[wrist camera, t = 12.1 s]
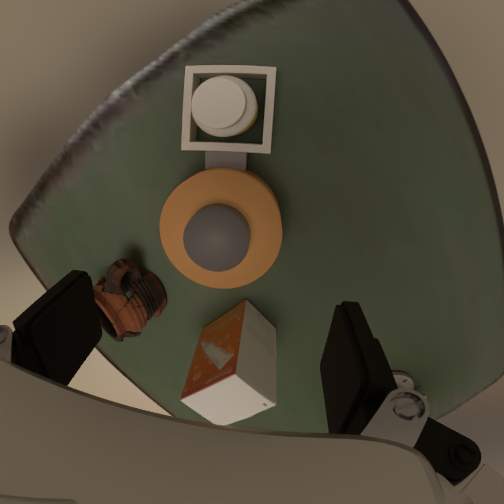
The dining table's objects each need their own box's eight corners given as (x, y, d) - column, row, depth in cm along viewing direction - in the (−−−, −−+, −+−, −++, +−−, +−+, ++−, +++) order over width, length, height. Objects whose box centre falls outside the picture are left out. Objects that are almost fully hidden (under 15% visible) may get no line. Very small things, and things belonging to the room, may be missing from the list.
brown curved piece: (173, 323, 40) (131, 359, 34) (129, 289, 43) (90, 319, 37) (168, 258, 32) (112, 298, 27) (119, 225, 36) (67, 255, 30)
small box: (246, 297, 37) (235, 373, 25) (277, 328, 38) (278, 406, 27) (200, 327, 39) (178, 401, 27) (232, 355, 41) (220, 429, 29)
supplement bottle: (223, 145, 30) (204, 151, 21) (197, 103, 28) (167, 93, 19) (268, 120, 28) (269, 114, 19) (242, 77, 27) (230, 54, 18)
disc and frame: (292, 74, 26) (298, 59, 20) (275, 271, 35) (276, 303, 29) (177, 72, 26) (154, 59, 20) (175, 262, 35) (157, 292, 29)
